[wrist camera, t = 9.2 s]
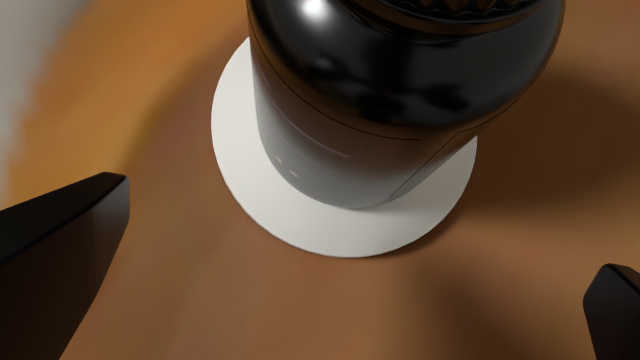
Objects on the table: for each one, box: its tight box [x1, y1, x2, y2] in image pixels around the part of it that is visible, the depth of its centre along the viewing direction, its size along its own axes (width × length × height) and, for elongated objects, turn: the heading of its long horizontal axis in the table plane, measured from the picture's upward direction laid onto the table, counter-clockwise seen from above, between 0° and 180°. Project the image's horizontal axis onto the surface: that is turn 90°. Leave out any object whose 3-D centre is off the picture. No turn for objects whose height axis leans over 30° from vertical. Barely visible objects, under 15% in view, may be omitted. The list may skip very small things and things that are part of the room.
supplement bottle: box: [246, 0, 566, 208], centre depth 13 cm, size 7×7×12 cm
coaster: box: [211, 37, 477, 258], centre depth 19 cm, size 10×10×1 cm
